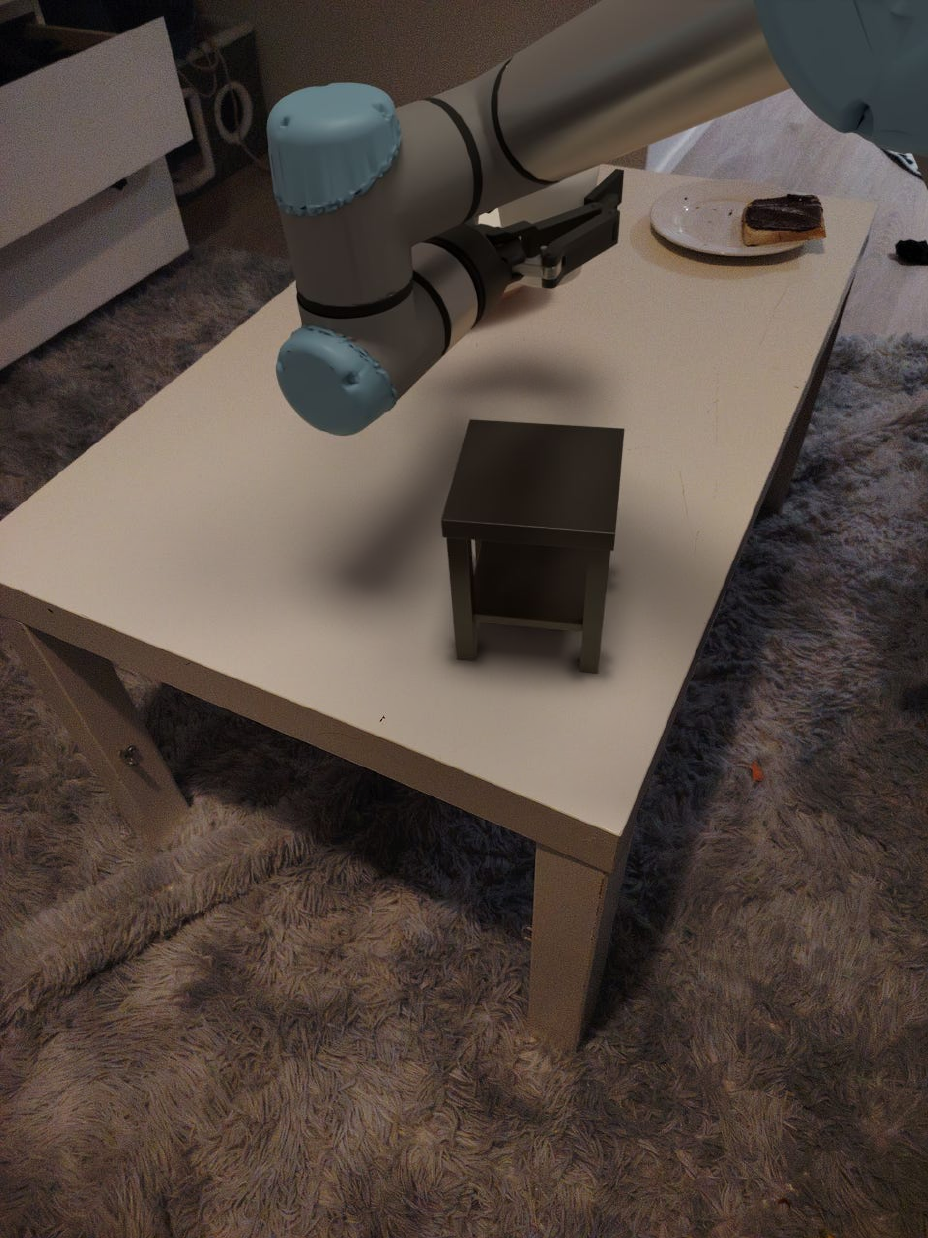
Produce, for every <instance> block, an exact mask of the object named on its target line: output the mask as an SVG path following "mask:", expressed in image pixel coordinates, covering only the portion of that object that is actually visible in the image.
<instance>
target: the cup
mask: <svg viewBox="0 0 928 1238" xmlns="http://www.w3.org/2000/svg"><path fill="white" fill-rule="evenodd" d="M600 168H601V165H598V166H596V167H594V168H591V169H589V170H586V171H584V172H581V173H579V174H576V175H574V176H571V177H569V178H566V179H564V180H561V181H560V182H559V183H556V184H554V185H551V186H549V187H547V188H545V189H542V190H539V191H537V192H534V193H532V194H530V195H527V196H524V197H522V198H519V199H517V200H515V201H512V202H510V203H508V204H506V205H503V206H501V207H498V213H499V219H500V225H501V228H504V227H506V226H509V225H512V224H515V223H518V222H521V221H524V220H525V221H528V222H529V223H531V224H533V223H536V222H539V221H542V220H545V219H547V218H550V217H553V216H556V215H559V214H562V213H564V212H567V211H570V210H573V209H576V208H579V207H582V206H584V198H585V197H586V196H587V195H588V194H589V193H590V192H591V191H592V190H593V189H595V188H596V187H597V186H598V182H599V176H600ZM519 238H520V240H521V236H520V237H519ZM582 268H583V265H581V266H580V267H578V268H577V269H575V270H573V271H572V272H570V273H568V274H567V275H565V276H564V277H563V278H562V280H561V281H560V282H559V284H558V285H557V287H559V286H563V285H566V284H568V283H571V282H572V281H573V280H575V279H576V278H578V277H579V275H580V274H581V272H582ZM517 282H518V283H521V284H523V286H527V287H531V288H541V289H544V288H543V287H542V279H541V278H540V277H534V276H527V275H525V276H524V277H523V278H522V279H521V280H519V281H517Z"/></svg>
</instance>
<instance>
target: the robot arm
mask: <svg viewBox="0 0 928 1238" xmlns="http://www.w3.org/2000/svg"><path fill="white" fill-rule="evenodd" d="M790 89H791V90H792V91H793V92H794V94H795V95H796V96H797V97H798V99H799V100H800V101H801V102H802V103H803V104H804V105H805V107H806V108H807V109H809V111H811V112H812V113H813V114H814V115H815V116H816V117H817V118H818V119H819V120H820V121H822V122H824V123H825V124H826V125H827V126H829V127H830V128H832V129H834V130H835V131H837V132H839V133H841V134H856V135H857V136H859V137H861V138H862V139H864V140H865V141H866V142H867V141H868V142H870V143H872V144H873V145H875V146H876V147H878V148H879V149H880V150H882V151H888V152H889V151H890V152H893V153H897V154H901V155H907V154H910V155H911V156H912V157H913V160H914V162H915V165H916V167H917V169H918V172H919V173H920V176H921V178H922V180H923V183H924V185H925V187H926V189H927V191H928V0H600V1H598V2H597V3H596V4H594V5H592V6H591V7H589V8H587V9H586V10H584V11H582V12H581V13H580V14H578V15H576V16H575V17H573V18H571V19H570V20H568V21H567V22H565V23H564V24H562V25H560V26H559V27H557V28H555V29H553V30H552V31H551V32H549V33H547V34H546V35H544V36H543V37H541V38H539V39H538V40H536V41H535V42H533V43H531V44H529V45H528V46H526V47H525V48H523V49H521V50H520V51H518V52H517V53H515V54H514V55H513V56H510V57H509V58H507V59H505V60H504V61H502V62H500V63H499V64H497V65H495V66H493V68H491V69H489V70H488V71H486V72H484V73H483V74H481V75H479V76H478V77H475V78H474V79H471V80H469V81H466V82H465V83H462V84H460V85H458V86H455V87H452V88H450V89H448V90H445V91H443V92H441V93H440V92H439V93H438V94H435V95H433V96H431V97H430V96H429V97H425V98H422V99H419V100H416V101H412V102H409V103H407V104H404V105H402V106H398V107H395V103H394V100H393V99H392V98H391V96H390V95H389V94H388V93H386V92H385V91H384V90H382V89H381V88H378V87H377V86H373V85H370V84H366V83H360V82H359V83H358V82H331V83H329V84H327V85H320V86H308V87H305V88H300V89H298V90H296V91H293V92H291V93H290V94H288V95H286V96H284V97H282V98H281V99H280V100H279V101H277V103H275V104H274V106H273V107H272V109H271V111H270V112H269V115H268V117H267V122H266V137H267V145H268V147H267V149H268V150H267V151H268V157H269V166H270V173H271V174H270V175H271V182H272V189H273V194H274V200H275V201H276V203H277V204H276V205H277V207H278V212H279V217H280V220H281V224H282V228H283V232H284V233H283V234H284V237H285V242H286V244H287V250H288V254H289V258H290V262H291V266H292V271H293V275H294V279H295V288H296V294H295V297H296V303H297V306H298V307H297V309H298V313H299V317H300V324H301V325H300V327H299V328H296V329H295V330H293V331H292V332H291V333H290V336H289V337H288V339H286V340H285V341H284V343H282V345H281V347H280V348H279V351H278V355H277V360H276V364H275V374H276V379H277V383H278V387H279V389H280V391H281V393H282V396H283V397H284V398H285V399H284V400H286V402H287V403H288V405H289V406H290V408H292V410H293V411H294V412H295V413H296V414H297V416H299V417H300V418H301V419H302V420H303V421H304V422H305V423H306V424H308V425H310V426H311V427H313V428H314V429H315V430H318V431H320V432H324V433H327V434H329V435H332V436H337V437H349V436H353V435H356V434H358V433H360V432H362V431H364V430H365V429H366V428H368V427H369V426H370V425H372V424H373V423H374V422H375V421H377V420H378V419H379V418H380V417H382V416H383V415H384V414H385V413H388V412H390V411H391V410H393V409H394V407H395V406H396V405H397V402H399V400H400V399H401V398H402V397H403V396H404V395H405V394H406V393H407V392H408V391H409V390H410V389H411V388H412V387H413V386H414V385H415V384H417V382H418V381H419V380H421V379H422V377H424V375H425V374H427V373H428V371H429V370H430V369H432V368H433V366H435V365H436V364H437V363H438V362H439V361H440V360H441V359H442V358H443V357H444V356H445V355H446V354H447V353H448V352H450V351H451V349H452V348H453V347H455V346H456V345H457V344H458V343H459V342H460V341H461V340H462V339H463V338H464V337H465V336H466V335H467V334H469V332H470V331H471V330H473V329H474V328H475V327H476V326H477V325H478V324H479V323H481V321H482V320H483V319H485V318H486V317H487V315H489V314H490V313H491V312H492V311H493V310H494V309H495V308H496V307H497V305H498V304H499V303H500V302H499V300H500V299H501V297H502V295H503V293H504V291H505V289H506V287H507V286H508V285H510V284H512V283H514V282H517V281H519V280H521V279H522V278H523V277H524V276H525V275H527V276H534V277H540V278H541V279H542V287H543V288H542V289H545V290H553V289H555V288H557V287H558V286H557V285H558V284H559V282H560V281H561V280H562V278H563V277H564V276H565V275H567V274H568V273H570V272H572V271H573V270H575V269H577V268H578V267H580V266H581V265H582V266H583V265H585V264H586V263H588V262H589V261H591V260H593V259H595V258H597V257H598V256H599V255H601V254H603V253H605V252H606V251H608V250H609V249H611V248H613V247H615V246H616V245H617V244H618V243H619V234H620V222H621V219H620V218H621V211H620V210H619V209H618V207H619V206H620V205H621V204H622V203H623V190H624V177H625V170H624V169H621V168H620V169H619V168H615V169H614V170H613V171H612V172H611V173H609V174H608V176H606V177H605V178H604V179H603V180H602V181H601V182H600V183H599V184H597V187H596V188H595V189H593V190H592V191H591V192H590V193H589V194H588V195H587V196H586V197H585V198H584V206H582V207H579V208H576V209H573V210H570V211H567V212H564V213H562V214H559V215H556V216H553V217H550V218H547V219H545V220H542V221H539V222H536V223H533V224H531V223H529V222H528V221H525V220H524V221H521V222H518V223H515V224H512V225H509V226H506V227H504V228H501V227H499V226H498V227H492V226H490V225H486V224H481V223H480V224H478V222H479V216H480V215H482V214H484V213H488V214H490V213H491V212H492V211H493V210H495V209H496V208H498V207H501V206H503V205H506V204H508V203H510V202H512V201H515V200H517V199H519V198H522V197H524V196H527V195H530V194H532V193H534V192H537V191H539V190H542V189H545V188H547V187H549V186H551V185H554V184H556V183H559V182H560V181H561V180H564V179H566V178H569V177H571V176H574V175H576V174H579V173H581V172H584V171H586V170H589V169H591V168H594V167H596V166H598V165H600V166H601V165H604V164H606V163H608V162H611V161H613V160H616V159H618V158H621V157H624V156H626V155H628V154H631V153H633V152H636V151H638V150H641V149H643V148H646V147H648V146H651V145H653V144H655V143H658V142H661V141H663V140H666V139H668V138H671V137H672V136H673V137H674V136H676V135H678V134H681V133H683V132H685V131H688V130H691V129H693V128H696V127H699V126H701V125H703V124H705V123H708V122H711V121H713V120H715V119H718V118H720V117H723V116H726V115H728V114H730V113H733V112H736V111H738V110H740V109H743V108H746V107H748V106H750V105H753V104H755V103H757V102H760V101H762V100H765V99H767V98H771V97H773V96H775V95H777V94H780V93H783V92H785V91H788V90H790ZM520 236H521V240H520V238H519V237H520Z"/></svg>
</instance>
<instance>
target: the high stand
mask: <svg viewBox="0 0 928 1238" xmlns="http://www.w3.org/2000/svg"><path fill="white" fill-rule="evenodd" d="M624 440H625V428H622V427H621V428H620V427H606V426H592V425H591V426H589V425H575V424H557V423H556V424H555V423H542V422H541V423H540V422H539V423H538V422H521V421H507V420H489V419H472V418H469V419H468V423H467V427H466V430H465V434H464V438H463V441H462V445H461V447H460V451H459V455H458V458H457V462H456V466H455V469H454V472H453V476H452V479H451V484H450V487H449V490H448V494H447V498H446V501H445V504H444V508H443V511H442V514H441V518H440V526H441V536H442V538H445V540H446V551H447V553H446V554H447V562H448V564H447V565H448V575H449V586H450V598H451V608H452V621H453V632H454V643H455V656H456V660H465V661H467V660H468V661H475V660H476V656H477V652H478V647H479V646H478V645H479V644H478V628H477V622H478V623H487V624H496V625H497V624H498V625H508V626H509V625H510V626H520V627H529V628H540V629H551V630H561V631H570V632H571V631H573V632H580V633H581V640H580V641H581V642H580V655H579V667H578V669H579V672H583V673H592V674H598V673H599V671H600V660H601V650H602V639H603V630H604V621H605V620H604V618H605V610H606V601H607V600H606V599H607V590H608V581H609V570H610V558H611V552H613V551H614V550H615V541H616V532H617V519H618V509H619V498H620V497H619V496H620V485H621V473H622V462H623V454H624V453H623V452H624ZM472 541H474V553H475V554H474V555H475V567H474V561H473V560H474V559H473V542H472Z"/></svg>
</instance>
